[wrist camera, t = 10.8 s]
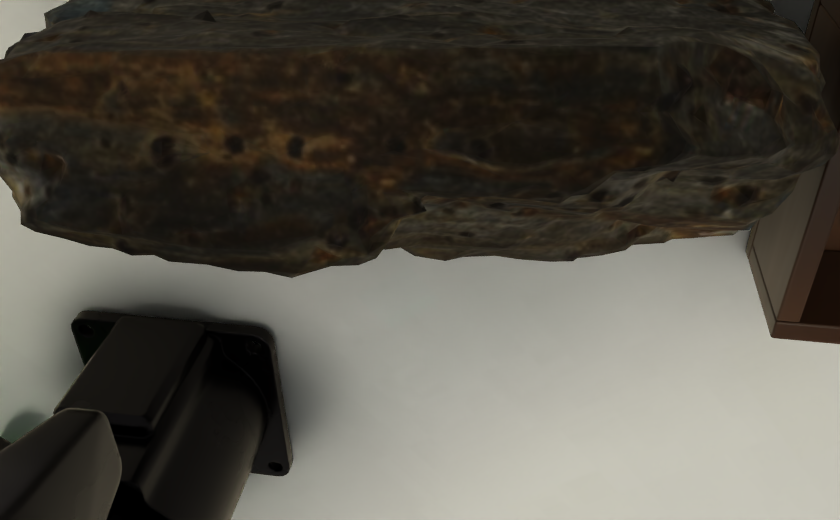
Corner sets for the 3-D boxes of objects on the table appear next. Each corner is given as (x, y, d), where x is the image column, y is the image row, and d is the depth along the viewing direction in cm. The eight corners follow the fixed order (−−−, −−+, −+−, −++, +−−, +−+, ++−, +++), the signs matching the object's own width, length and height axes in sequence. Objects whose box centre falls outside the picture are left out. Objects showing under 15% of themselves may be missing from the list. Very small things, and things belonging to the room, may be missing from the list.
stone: (205, 226, 23) (776, 148, 19) (60, 436, 16) (902, 375, 12) (99, -30, 19) (780, -181, 16) (-148, 101, 12) (959, -115, 9)
